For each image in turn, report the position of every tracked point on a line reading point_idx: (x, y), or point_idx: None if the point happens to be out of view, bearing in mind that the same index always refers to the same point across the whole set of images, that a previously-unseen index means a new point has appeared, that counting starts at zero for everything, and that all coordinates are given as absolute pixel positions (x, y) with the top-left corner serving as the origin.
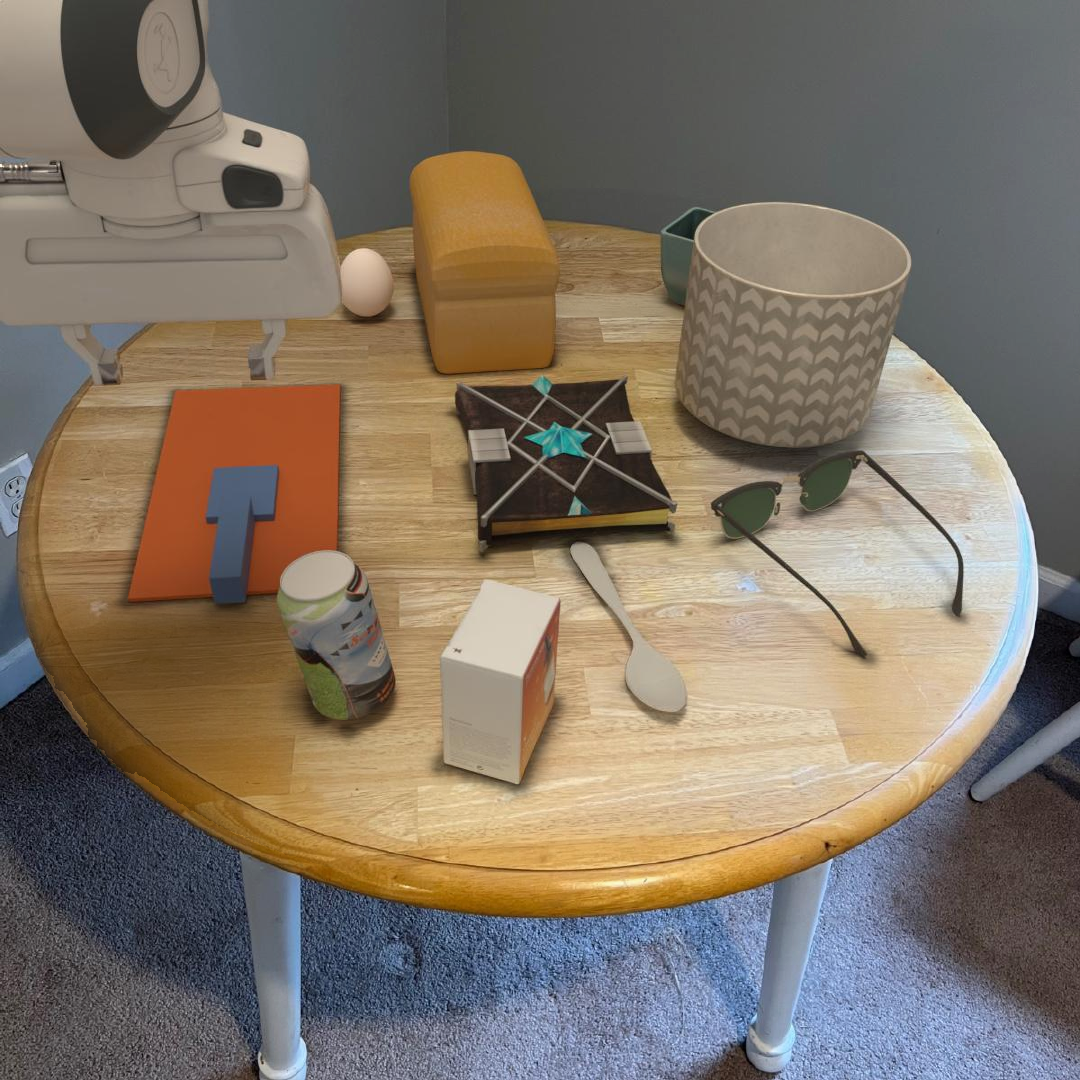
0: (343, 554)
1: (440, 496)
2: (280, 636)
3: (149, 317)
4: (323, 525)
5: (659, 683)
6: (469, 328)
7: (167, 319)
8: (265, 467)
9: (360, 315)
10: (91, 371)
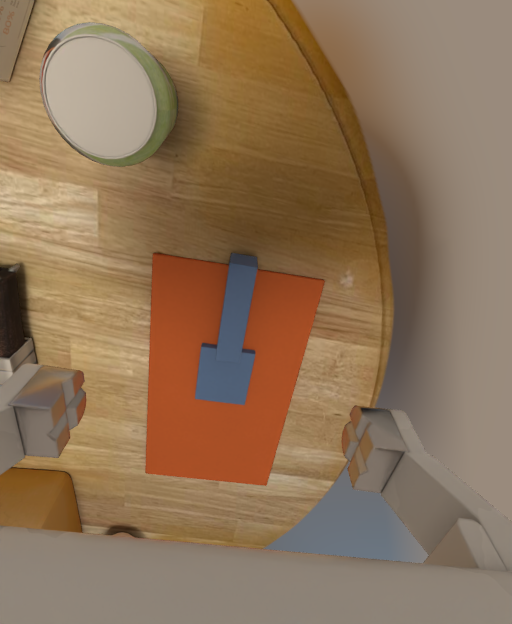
0: (65, 134)
1: (63, 343)
2: (205, 206)
3: (279, 576)
4: (162, 328)
5: None
6: (18, 508)
7: (214, 558)
8: (204, 398)
9: (128, 534)
10: (417, 435)
